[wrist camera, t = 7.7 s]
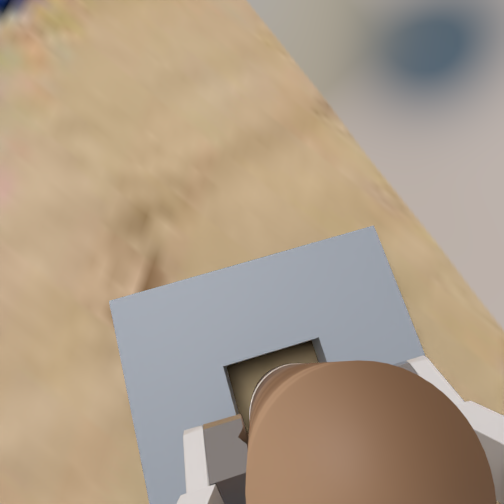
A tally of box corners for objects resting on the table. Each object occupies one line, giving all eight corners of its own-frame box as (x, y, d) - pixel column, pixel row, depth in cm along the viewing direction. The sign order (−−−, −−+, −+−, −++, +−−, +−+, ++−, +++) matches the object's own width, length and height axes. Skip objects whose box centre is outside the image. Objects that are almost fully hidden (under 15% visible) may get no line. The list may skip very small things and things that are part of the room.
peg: (263, 464, 17) (287, 686, 5) (239, 377, 18) (214, 398, 6) (345, 437, 17) (545, 591, 5) (317, 353, 18) (436, 329, 6)
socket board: (184, 596, 19) (174, 630, 17) (124, 307, 23) (108, 301, 20) (461, 500, 20) (490, 519, 18) (361, 239, 24) (373, 225, 21)
